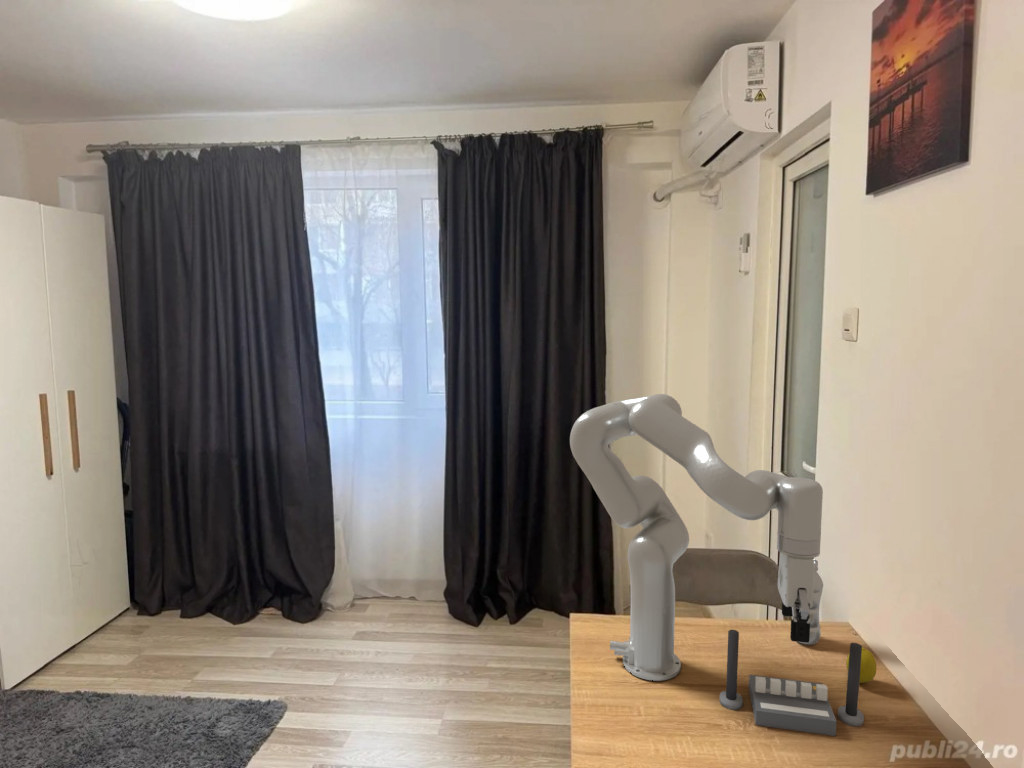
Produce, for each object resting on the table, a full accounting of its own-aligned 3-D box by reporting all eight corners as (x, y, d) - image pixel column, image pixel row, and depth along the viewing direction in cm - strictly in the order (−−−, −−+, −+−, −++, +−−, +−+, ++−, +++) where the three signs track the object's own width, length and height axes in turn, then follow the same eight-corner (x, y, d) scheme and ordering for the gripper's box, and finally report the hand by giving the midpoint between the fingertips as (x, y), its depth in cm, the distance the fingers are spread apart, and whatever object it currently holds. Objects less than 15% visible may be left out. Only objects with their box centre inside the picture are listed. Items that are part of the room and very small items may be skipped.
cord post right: (841, 724, 123) (846, 650, 120) (835, 709, 127) (840, 638, 125) (866, 727, 122) (872, 653, 119) (859, 713, 126) (865, 640, 124)
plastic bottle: (818, 636, 154) (822, 556, 151) (821, 650, 148) (826, 568, 145) (789, 631, 156) (793, 553, 153) (791, 646, 150) (795, 564, 147)
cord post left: (720, 708, 128) (722, 636, 126) (718, 694, 132) (721, 625, 130) (743, 711, 127) (746, 639, 125) (741, 697, 131) (744, 627, 129)
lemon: (879, 692, 132) (881, 656, 131) (849, 689, 133) (852, 653, 132) (869, 676, 138) (872, 641, 136) (842, 673, 139) (844, 639, 138)
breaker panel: (755, 724, 123) (756, 709, 122) (748, 687, 134) (749, 673, 134) (835, 736, 119) (836, 720, 119) (821, 696, 131) (822, 682, 130)
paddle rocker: (755, 692, 127) (755, 679, 127) (754, 689, 128) (754, 676, 128) (827, 701, 124) (828, 688, 124) (826, 698, 125) (826, 685, 125)
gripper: (770, 526, 131) (767, 605, 133) (784, 559, 115) (781, 649, 117) (810, 528, 129) (806, 608, 132) (830, 563, 113) (826, 654, 115)
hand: (794, 627), depth 124 cm, fingers open, 9 cm apart
